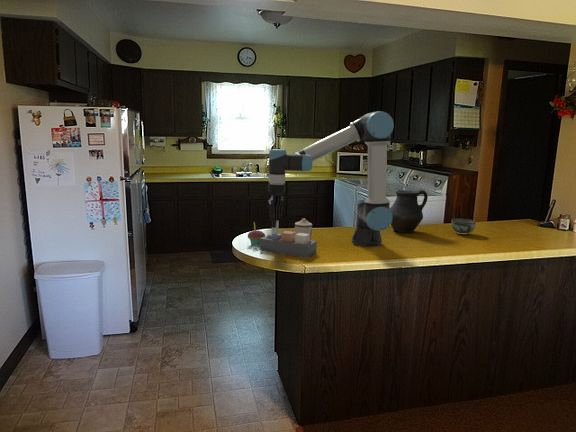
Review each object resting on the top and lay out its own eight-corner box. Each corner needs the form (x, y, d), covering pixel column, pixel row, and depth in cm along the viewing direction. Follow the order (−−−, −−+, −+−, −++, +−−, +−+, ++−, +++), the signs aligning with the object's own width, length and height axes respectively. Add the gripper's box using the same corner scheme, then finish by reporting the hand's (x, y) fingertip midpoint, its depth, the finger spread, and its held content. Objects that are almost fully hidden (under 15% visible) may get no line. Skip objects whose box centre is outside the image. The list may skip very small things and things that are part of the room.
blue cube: (281, 244, 206) (282, 234, 205) (276, 246, 202) (277, 236, 201) (272, 243, 208) (272, 232, 207) (267, 245, 204) (267, 234, 203)
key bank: (316, 252, 202) (316, 241, 201) (307, 258, 193) (308, 245, 192) (270, 245, 212) (270, 234, 211) (259, 249, 203) (260, 238, 202)
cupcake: (258, 248, 206) (258, 223, 204) (243, 245, 210) (244, 220, 208) (268, 244, 213) (269, 220, 211) (254, 241, 218) (254, 218, 215)
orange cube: (295, 242, 203) (295, 232, 202) (290, 244, 198) (291, 234, 197) (285, 241, 205) (286, 230, 204) (280, 243, 200) (281, 232, 200)
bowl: (453, 230, 264) (455, 217, 262) (477, 234, 256) (478, 220, 255) (447, 234, 253) (448, 220, 251) (471, 237, 245) (473, 223, 244)
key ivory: (309, 244, 200) (309, 234, 199) (305, 247, 195) (305, 236, 195) (299, 243, 202) (299, 232, 201) (294, 245, 198) (295, 234, 197)
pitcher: (384, 226, 267) (387, 185, 262) (421, 228, 264) (425, 187, 260) (387, 233, 247) (390, 189, 242) (426, 236, 244) (431, 192, 240)
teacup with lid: (313, 243, 219) (314, 220, 217) (295, 243, 217) (296, 220, 215) (308, 237, 231) (309, 216, 229) (291, 237, 229) (292, 215, 227)
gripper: (275, 181, 207) (274, 230, 211) (262, 184, 195) (260, 235, 200) (290, 183, 204) (288, 232, 208) (277, 185, 192) (275, 237, 197)
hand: (274, 233), depth 204 cm, fingers closed
